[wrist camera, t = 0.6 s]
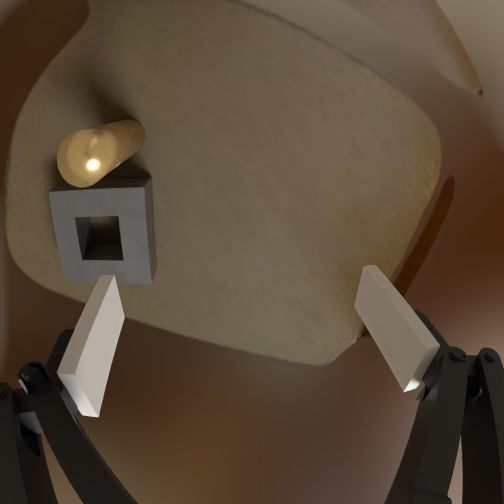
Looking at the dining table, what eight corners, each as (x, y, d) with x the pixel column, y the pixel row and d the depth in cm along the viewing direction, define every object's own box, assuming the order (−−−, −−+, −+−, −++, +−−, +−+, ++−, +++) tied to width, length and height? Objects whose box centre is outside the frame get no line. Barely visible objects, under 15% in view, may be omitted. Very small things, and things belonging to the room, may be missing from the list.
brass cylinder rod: (109, 120, 31) (55, 134, 19) (144, 118, 32) (106, 128, 19) (110, 156, 33) (59, 188, 21) (144, 154, 34) (108, 186, 21)
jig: (64, 181, 33) (48, 192, 29) (151, 177, 35) (144, 187, 31) (77, 264, 39) (65, 281, 35) (157, 265, 40) (151, 283, 36)
